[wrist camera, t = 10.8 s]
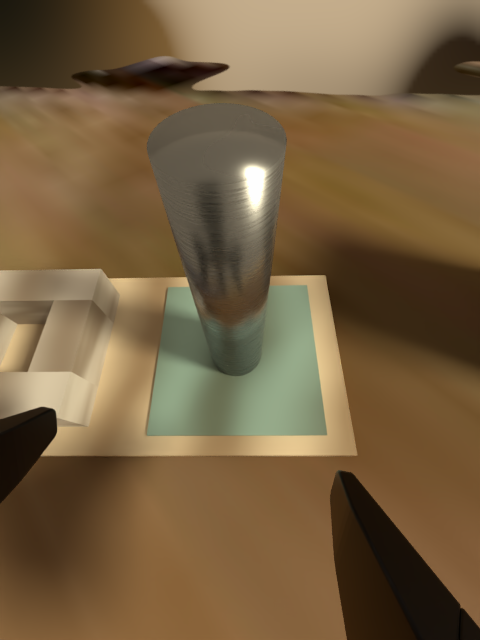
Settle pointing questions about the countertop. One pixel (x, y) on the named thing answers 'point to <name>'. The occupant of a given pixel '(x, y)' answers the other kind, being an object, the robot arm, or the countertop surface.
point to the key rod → (223, 218)
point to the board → (168, 369)
